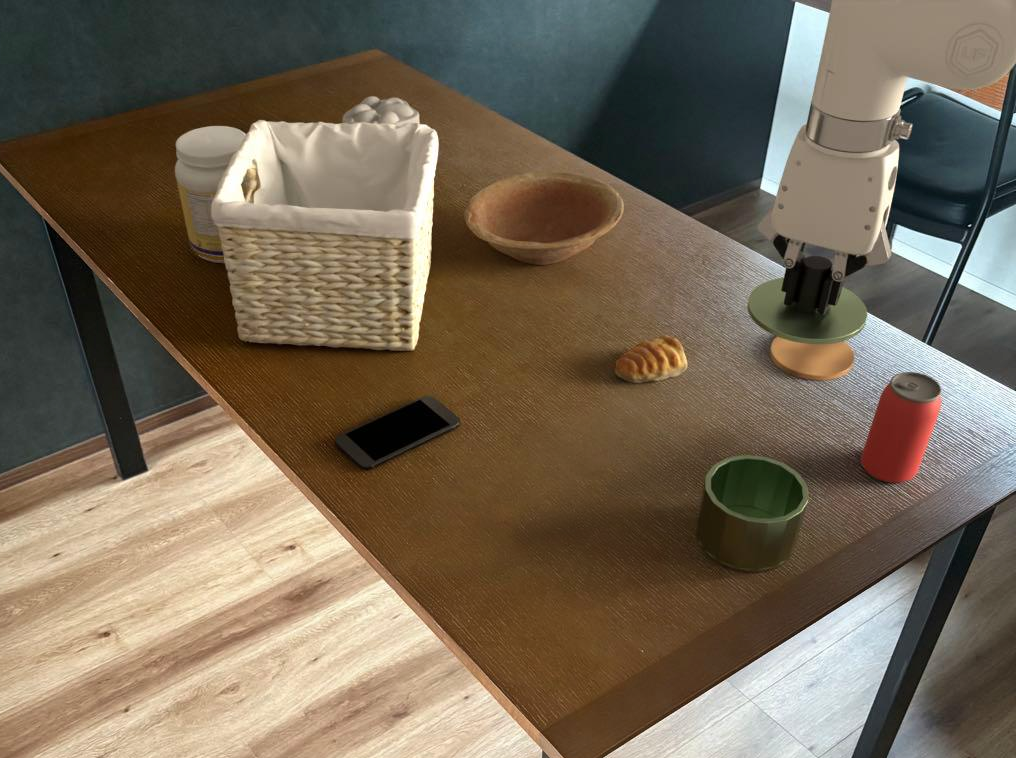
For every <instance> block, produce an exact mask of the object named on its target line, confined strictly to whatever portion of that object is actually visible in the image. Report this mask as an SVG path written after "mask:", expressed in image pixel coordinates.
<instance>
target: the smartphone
mask: <svg viewBox="0 0 1016 758" xmlns="http://www.w3.org/2000/svg"><path fill="white" fill-rule="evenodd" d="M460 426H461V419H460V417H458V416H457V415H456V414H455V413H454V412H453V411H451V410H450V409H449V408H447V406H445V405H444V404H443V403H441V401H439V400H438V399H436V397H433V396H432V395H423V396H421V397H419V398H416V399H414V400H412V401H410V402H407V403H405V404H403V405H401V406H399V407H397V408H394V409H392V410H390V411H388V412H385V413H383V414H382V415H379V416H377V417H375V418H373V419H370V420H369V421H366V422H364V423H362V424H359V425H357V426H356V427H353V428H351V429H349V430H346V431H344V432H342V433H340V434H338V435H336V437H335V438H334V440H333V442H334V445H335V446H336V447H337V448H338V449H340V451H342V452H343V453H344V455H346V456H347V457H348V458H349V459H350V460H351V461H352V462H353V463H355V464H356V466H357V467H359V468H360V469H361V470H363V471H370V470H373V469H375V468H377V467H379V466H381V465H383V464H385V463H387V462H390V461H391V460H393V459H395V458H398V457H400V456H401V455H405V454H406V453H408V452H410V451H412V450H415V449H416V448H419V447H420V446H423V445H425V444H426V443H429V442H431V441H433V440H435V439H437V438H439V437H441V436H444V435H445V434H447V433H449V432H451V431H453V430H455V429H458V427H460Z"/></svg>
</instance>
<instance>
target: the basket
mask: <svg viewBox="0 0 1016 758" xmlns="http://www.w3.org/2000/svg"><path fill="white" fill-rule="evenodd" d="M419 123H420V122H419ZM419 123H406V124H403V125H402V126H400V127H399V126H396V125H393V124H384V123H381V124H373V123H366V122H360V123H353V124H347V123H342V122H340V123H333V122H323V121H318V122H307V123H305V122H286V121H283V120H281V121H266V120H265V119H258V120H257V121H256V122H254V123H251V124H250V128H249V130H248V132H247V133H245V134H246V135H245V137H244V139H243V141H242V143H241V145H240V146H239V148H238V150H237V152H236V153H235V154H234V155H233V156H232V158H231V160H230V163H229V166H228V167H227V169H226V171H225V172H224V174H223V176H222V179H221V181H220V183H219V185H218V189H217V193H216V195H215V197H214V199H213V201H212V204H211V216H212V219H213V221H214V224H215V225H216V226H218V230H219V237H220V240H221V242H222V246H221V247H222V250H223V254H224V263H223V264H224V266H225V269H226V271H227V278H228V281H229V284H230V285H229V290H230V293H231V297H232V300H231V301H232V302H231V303H232V306H233V309H234V311H235V312H234V317H235V320H236V323H237V328H236V329H237V330H236V331H237V335H238V339H239V340H241V341H243V340H244V341H243V342H247V341H249V342H248V343H256V344H257V343H258V344H277V345H283V344H284V345H295V346H316V347H321V346H323V347H330V348H353V349H354V348H355V349H370V350H374V351H386V350H387V351H400V352H401V351H402V352H404V351H405V352H407V351H409V352H410V351H414V350H415V349H416V346H417V345H418V340H419V335H420V334H419V332H420V323H421V320H422V315H423V308H424V307H423V306H424V303H425V293H426V291H427V285H428V278H429V275H430V270H431V264H432V260H431V259H432V233H433V232H432V231H433V230H432V228H433V214H434V197H435V188H434V185H435V180H434V179H435V177H436V170H437V163H438V157H439V144H440V143H439V137H438V136H439V135H438V132H437V131H436V129H434V128H431V126H428V125H427V124H422V123H420V124H419ZM244 176H245V178H246V182H247V183H248V188H249V190H248V191H247V195H246V197H245V198H244V195H243V191H242V186H241V183H242V181H243V178H244Z"/></svg>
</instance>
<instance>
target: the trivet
mask: <svg viewBox="0 0 1016 758" xmlns="http://www.w3.org/2000/svg"><path fill="white" fill-rule="evenodd" d="M769 355H770V358H771V360H772V362H773V363H774V364H775V366H776V367H778V368H779V369H780V370H782V371H784V372H785V373H786V374H789V375H791V376H794V377H796V378H800V379H803V380H804V379H805V380H810V381H831V380H835V379H839V378H841V377H844V376H846V375H847V374H848V373H849V372H850V371H851V369H852V368H853V366H854V363H855V353H854V350H853V349H852V347H851V346H850V345H849V344H848V343H847V342H846V341H842V342H837V343H832V344H805V343H798V342H793V341H789V340H786V339H783V338H780V337H777V336H775V338H774V339H773V340H772V342H771V345H770V347H769Z"/></svg>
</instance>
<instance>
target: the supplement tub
mask: <svg viewBox="0 0 1016 758" xmlns="http://www.w3.org/2000/svg"><path fill="white" fill-rule="evenodd" d="M246 134H247V133H245V132H244V131H242V130H241V129H238V128H236V127H231V126H227V125H210V126H204V127H203V126H202V127H199V128H195V129H191V130H189V131H187V132H185V133H183V134H181V135H180V136H179V137H178V138H177V140H176V141H175V149H176V150H175V151H176V152H175V153H176V155H175V156H176V158H177V160H176V163H175V165H174V176H175V180H176V183H177V184H176V185H177V190H178V194H179V198H180V204H181V209H182V212H183V213H182V214H183V217H184V222H185V228H186V232H187V237H188V242H190V243H189V245H190V244H191V246H192V247H193V248H194V249H195V250H197V251H199V252H201V253H203V254H207V255H211V256H217V257H224V254H223V250H222V247H221V246H222V242H221V240H220V237H219V230H218V226H216V225H215V224H214V221H213V219H212V216H211V204H212V201H213V199H214V197H215V195H216V193H217V189H218V185H219V183H220V181H221V179H222V176H223V174H224V172H225V171H226V169H227V167H228V166H229V163H230V160H231V158H232V156H233V155H234V154H235V153H236V152H237V150H238V148H239V146H240V145H241V143H242V141H243V139H244V137H245V135H246ZM241 186H242V191H243V195H244V198H245V197H246V195H247V191H248V190H249V188H248V183H247V182H246V178H245V176H244V178H243V181H242V183H241ZM191 246H190V247H191ZM194 254H195V255H196V256H198V258H201V259H202V260H205V261H207V262H212V263H215V264H225V263H224V260H214V259H209V258H205V257H202V256H200V255H197V254H196V253H194Z"/></svg>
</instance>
